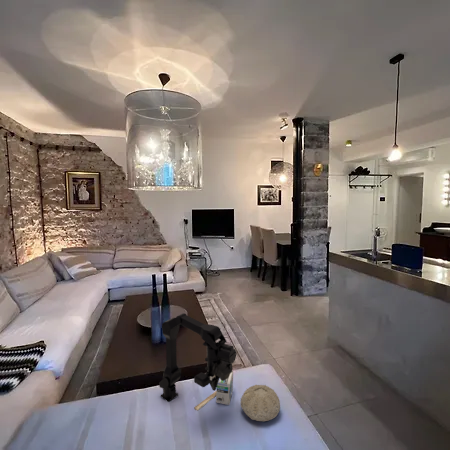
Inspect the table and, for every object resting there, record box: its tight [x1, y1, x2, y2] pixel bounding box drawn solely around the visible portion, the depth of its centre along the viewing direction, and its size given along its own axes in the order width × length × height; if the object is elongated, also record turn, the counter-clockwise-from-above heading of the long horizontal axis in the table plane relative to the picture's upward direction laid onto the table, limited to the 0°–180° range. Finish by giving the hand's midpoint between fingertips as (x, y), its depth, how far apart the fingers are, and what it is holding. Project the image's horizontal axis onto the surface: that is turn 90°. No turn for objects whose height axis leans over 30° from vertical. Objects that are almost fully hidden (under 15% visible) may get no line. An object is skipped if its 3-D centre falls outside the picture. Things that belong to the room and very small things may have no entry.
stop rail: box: [193, 390, 217, 411], centre depth 137 cm, size 2×26×1 cm, turn 139°
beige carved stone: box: [240, 384, 281, 422], centre depth 125 cm, size 18×18×10 cm
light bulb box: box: [215, 370, 234, 406], centre depth 135 cm, size 11×7×11 cm, turn 169°
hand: (214, 390), depth 121 cm, fingers closed
